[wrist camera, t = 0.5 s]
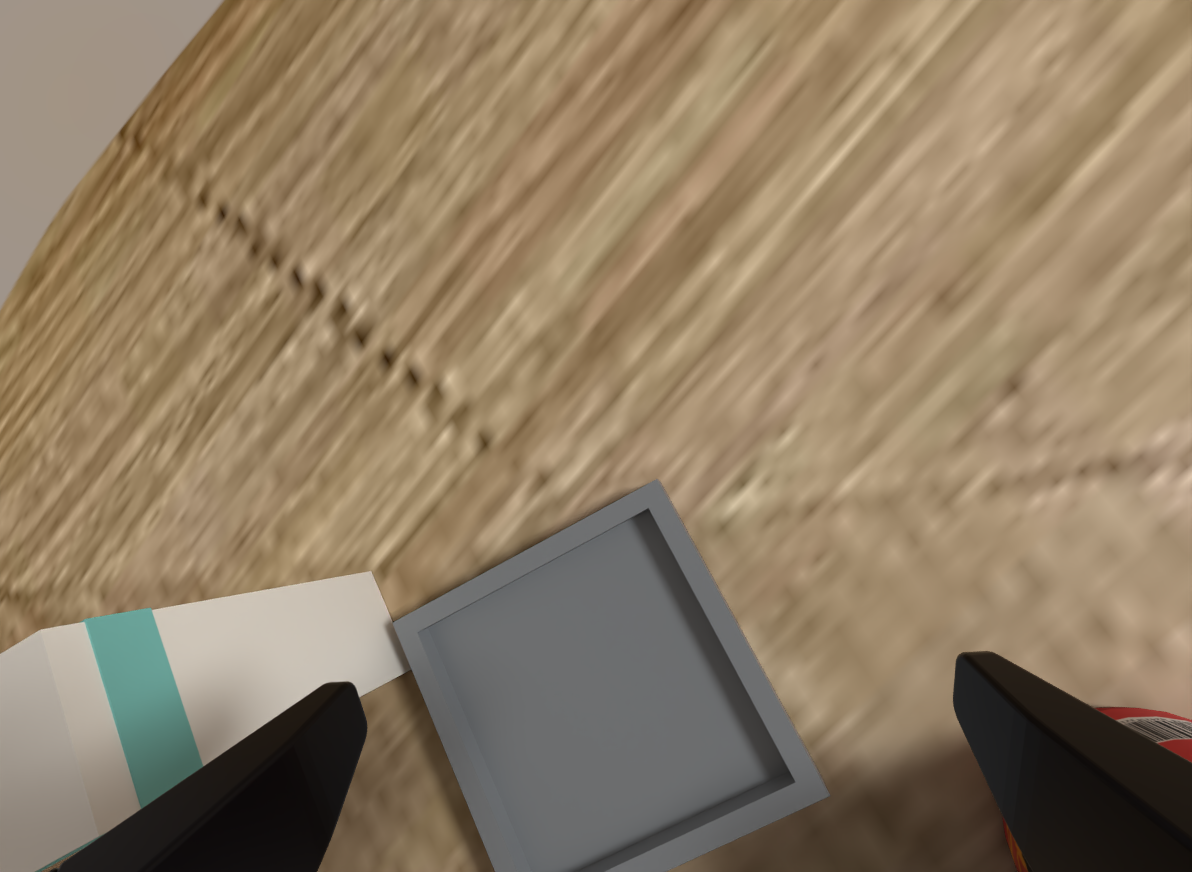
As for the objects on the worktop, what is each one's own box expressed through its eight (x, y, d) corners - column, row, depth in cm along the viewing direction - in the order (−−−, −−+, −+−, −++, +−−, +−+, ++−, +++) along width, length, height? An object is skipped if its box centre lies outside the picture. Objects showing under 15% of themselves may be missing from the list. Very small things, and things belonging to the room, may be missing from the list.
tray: (821, 775, 20) (830, 796, 19) (534, 908, 21) (522, 938, 20) (660, 480, 23) (657, 479, 21) (411, 615, 24) (392, 622, 22)
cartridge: (414, 669, 24) (101, 837, 11) (324, 718, 24) (-67, 929, 12) (371, 569, 25) (41, 626, 12) (286, 618, 25) (-112, 719, 13)
